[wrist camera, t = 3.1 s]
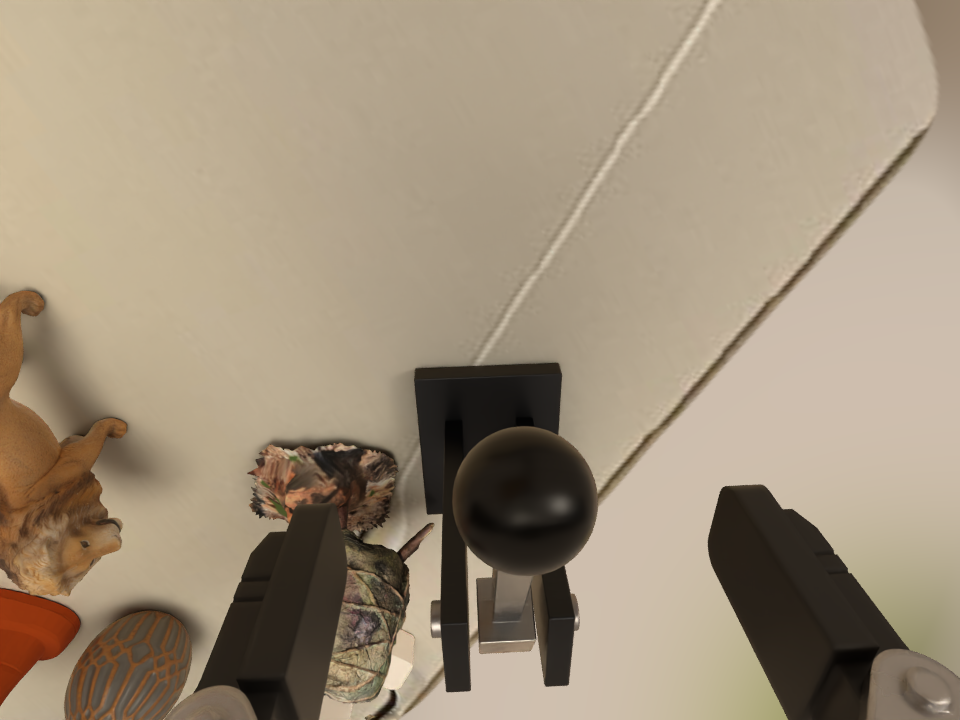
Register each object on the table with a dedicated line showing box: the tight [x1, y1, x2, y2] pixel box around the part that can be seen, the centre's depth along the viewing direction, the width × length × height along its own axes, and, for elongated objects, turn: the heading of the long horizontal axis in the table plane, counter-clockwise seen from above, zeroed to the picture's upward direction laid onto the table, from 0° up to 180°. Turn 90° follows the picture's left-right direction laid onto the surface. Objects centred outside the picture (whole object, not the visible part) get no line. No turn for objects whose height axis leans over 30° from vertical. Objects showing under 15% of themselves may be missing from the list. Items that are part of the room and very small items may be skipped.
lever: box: [452, 426, 598, 654], centre depth 17 cm, size 16×3×3 cm, turn 1°
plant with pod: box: [247, 443, 434, 720], centre depth 26 cm, size 8×11×20 cm
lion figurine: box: [0, 291, 127, 596], centre depth 27 cm, size 15×5×9 cm, turn 20°
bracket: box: [414, 363, 580, 692], centre depth 27 cm, size 10×8×14 cm
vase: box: [64, 611, 192, 720], centre depth 37 cm, size 7×7×9 cm
